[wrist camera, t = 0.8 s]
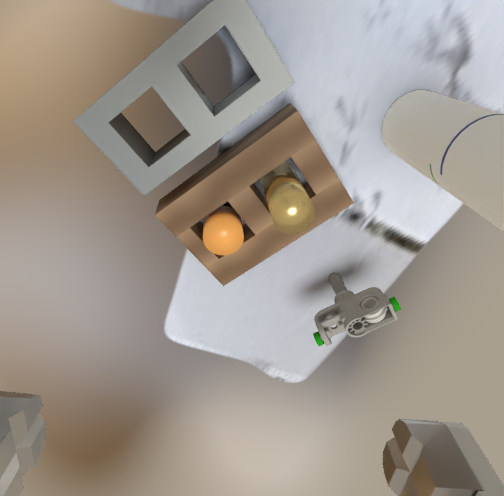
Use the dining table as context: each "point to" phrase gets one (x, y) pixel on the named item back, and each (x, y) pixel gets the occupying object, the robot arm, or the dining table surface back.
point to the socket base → (252, 193)
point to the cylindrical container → (451, 147)
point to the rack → (185, 96)
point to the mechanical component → (354, 312)
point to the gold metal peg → (287, 200)
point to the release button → (223, 231)
